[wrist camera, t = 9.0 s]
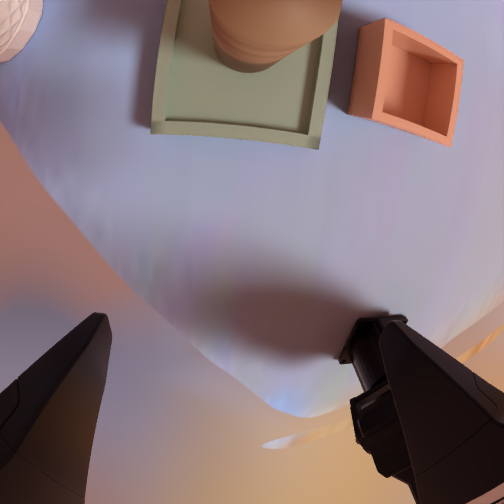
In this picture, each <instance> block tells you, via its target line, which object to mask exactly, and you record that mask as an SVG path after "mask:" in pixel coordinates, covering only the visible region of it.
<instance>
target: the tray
mask: <svg viewBox="0 0 504 504" xmlns="http://www.w3.org/2000/svg"><path fill="white" fill-rule="evenodd" d="M338 19H339V17H338ZM338 19H337V20H336V22H335V24H334V25H333V26H332V27H331V28H330V29H329V30H328V31H327V32H326V33H324V34H323V35H321V36H319V37H318V38H316V39H314V40H313V41H311V42H309V43H307V44H306V45H304V46H302V47H301V48H299V49H298V50H296V51H294V52H293V53H291V54H289V55H288V56H286V57H285V58H283V59H282V60H280V61H279V62H277V63H276V64H274V65H273V66H271V67H270V68H268V69H266V70H264V71H261V72H257V73H242V72H238V71H235V70H232V69H230V68H229V67H227V66H226V65H224V64H223V63H222V62H221V60H220V59H219V58H218V56H217V54H216V52H215V48H214V40H213V32H212V24H211V16H210V8H209V0H168V1H167V5H166V10H165V16H164V21H163V26H162V32H161V38H160V45H159V52H158V59H157V66H156V75H155V84H154V93H153V104H152V117H151V133H150V134H169V135H193V136H210V137H223V138H234V139H245V140H254V141H262V142H270V143H278V144H285V145H292V146H299V147H305V148H311V149H317V150H318V149H319V144H320V138H321V133H322V127H323V122H324V116H325V110H326V104H327V98H328V91H329V85H330V78H331V72H332V65H333V58H334V51H335V43H336V35H337V28H338Z"/></svg>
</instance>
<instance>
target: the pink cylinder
mask: <svg viewBox="0 0 504 504" xmlns="http://www.w3.org/2000/svg"><path fill="white" fill-rule="evenodd" d="M42 9H43V0H0V63H3V62H6V61H9V60H11V59H12V58H13V57H14V56H15V55H16V54H17V53H19V52H20V51H21V50H22V49H23V48H24V47H25V45H26V44H27V42H28V41H29V39H30V38H31V37H32V35H33V34H34V33H35V30H36V28H37V25H38V23H39V21H40V18H41V16H42Z"/></svg>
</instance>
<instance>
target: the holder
mask: <svg viewBox="0 0 504 504" xmlns="http://www.w3.org/2000/svg"><path fill="white" fill-rule="evenodd" d="M463 62H464V60H462V59H461V58H459V57H458V56H456V55H455V54H453V53H452V52H450V51H448V50H447V49H445V48H443V47H442V46H440V45H438V44H437V43H435V42H433V41H431V40H430V39H428V38H426V37H424V36H422V35H420V34H418V33H417V32H415V31H413V30H411V29H409V28H407V27H404V26H402V25H400V24H398V23H396V22H394V21H392V20H389V19H387V18H383V19H380V20H378V21H375V22H372V23H370V24H367V25H365V26H362V27H360V29H359V38H358V46H357V54H356V61H355V68H354V75H353V82H352V88H351V95H350V101H349V107H348V112H347V114H348V115H352V116H355V117H359V118H363V119H366V120H370V121H373V122H377V123H380V124H383V125H387V126H390V127H393V128H396V129H399V130H402V131H405V132H408V133H411V134H413V135H416V136H419V137H422V138H425V139H428V140H431V141H434V142H437V143H440V144H443V145H445V146H448V147H451V144H452V139H453V134H454V129H455V124H456V118H457V112H458V106H459V99H460V92H461V83H462V74H463Z"/></svg>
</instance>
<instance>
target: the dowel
mask: <svg viewBox="0 0 504 504" xmlns="http://www.w3.org/2000/svg"><path fill="white" fill-rule="evenodd" d="M341 7H342V0H209V8H210V16H211V24H212V32H213V40H214V48H215V52H216V54H217V56H218V58H219V59H220V60H221V62H222V63H223V64H224V65H226V66H227V67H229V68H230V69H232V70H235V71H238V72H242V73H257V72H261V71H264V70H266V69H268V68H270V67H271V66H273V65H274V64H276V63H277V62H279V61H280V60H282V59H283V58H285V57H286V56H288V55H289V54H291V53H293V52H294V51H296V50H298V49H299V48H301V47H302V46H304V45H306V44H307V43H309V42H311V41H313V40H314V39H316V38H318V37H319V36H321V35H323V34H324V33H326V32H327V31H328V30H329V29H330V28H331V27H332V26H333V25H334V24H335V22H336V20H337V19H338V17H339V14H340V12H341Z"/></svg>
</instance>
